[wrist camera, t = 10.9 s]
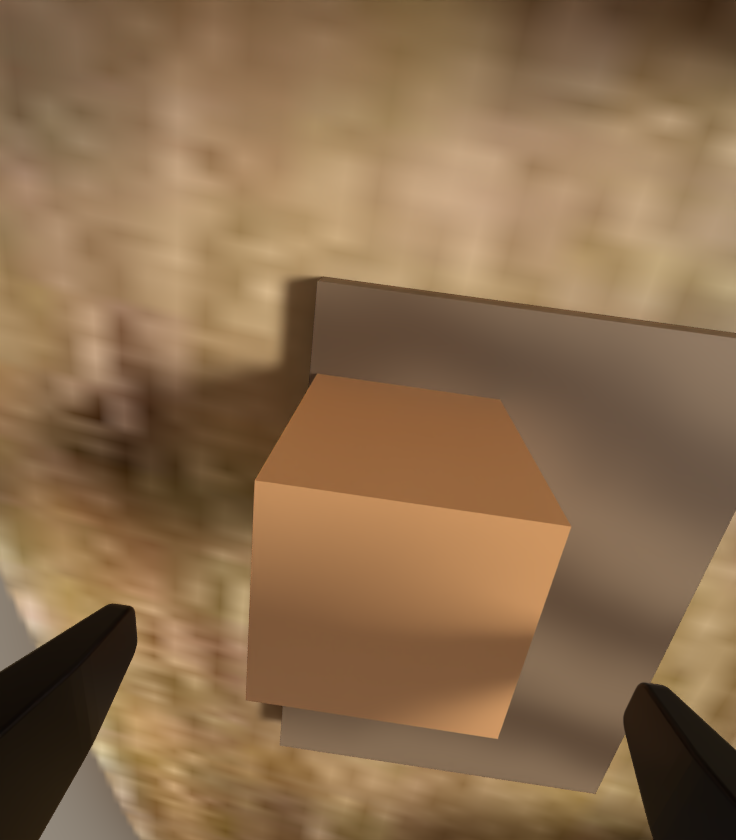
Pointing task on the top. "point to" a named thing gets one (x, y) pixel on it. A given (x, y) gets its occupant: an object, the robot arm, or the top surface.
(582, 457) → the walnut board
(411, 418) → the square block
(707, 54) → the top surface
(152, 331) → the top surface
